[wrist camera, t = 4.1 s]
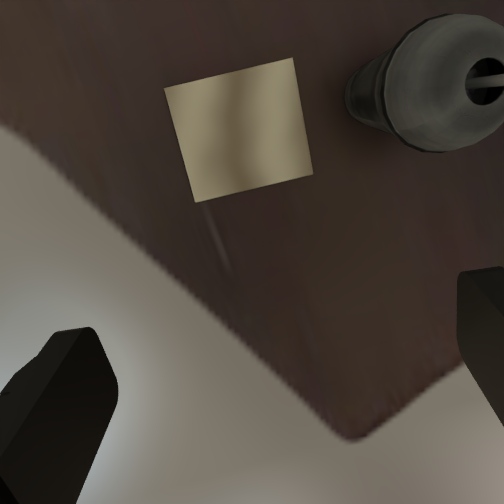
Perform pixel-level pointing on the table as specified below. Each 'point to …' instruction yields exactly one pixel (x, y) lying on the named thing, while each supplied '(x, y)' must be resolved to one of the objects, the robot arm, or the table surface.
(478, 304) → the robot arm
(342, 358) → the table surface
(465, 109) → the beverage cup
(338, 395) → the table surface
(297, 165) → the birch coaster
